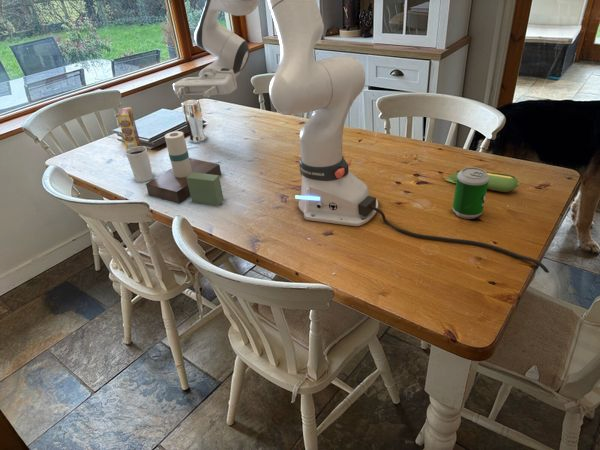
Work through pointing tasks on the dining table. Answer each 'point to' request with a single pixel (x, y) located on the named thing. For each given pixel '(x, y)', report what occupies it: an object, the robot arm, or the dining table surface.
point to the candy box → (128, 128)
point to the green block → (205, 188)
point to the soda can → (470, 192)
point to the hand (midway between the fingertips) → (191, 95)
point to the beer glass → (194, 120)
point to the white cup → (140, 163)
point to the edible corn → (495, 181)
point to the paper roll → (178, 154)
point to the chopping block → (179, 182)
